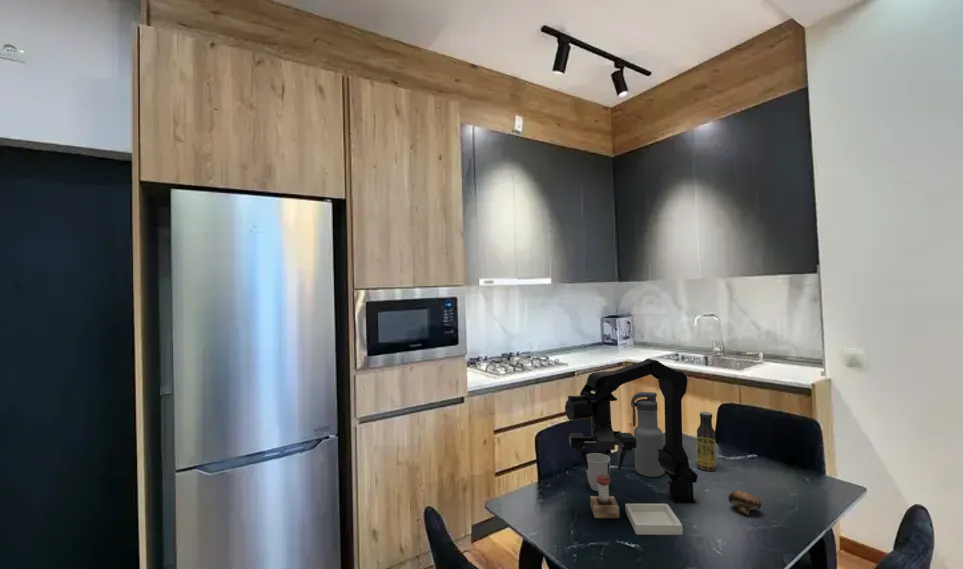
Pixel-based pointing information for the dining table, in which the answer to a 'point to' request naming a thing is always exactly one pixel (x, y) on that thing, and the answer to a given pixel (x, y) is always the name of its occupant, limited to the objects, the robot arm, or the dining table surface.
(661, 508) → the tray
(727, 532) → the dining table surface
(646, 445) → the water bottle
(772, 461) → the dining table surface
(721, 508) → the dining table surface
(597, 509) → the block
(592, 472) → the cup
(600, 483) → the red capped tube
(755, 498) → the mushroom
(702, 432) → the sauce bottle
